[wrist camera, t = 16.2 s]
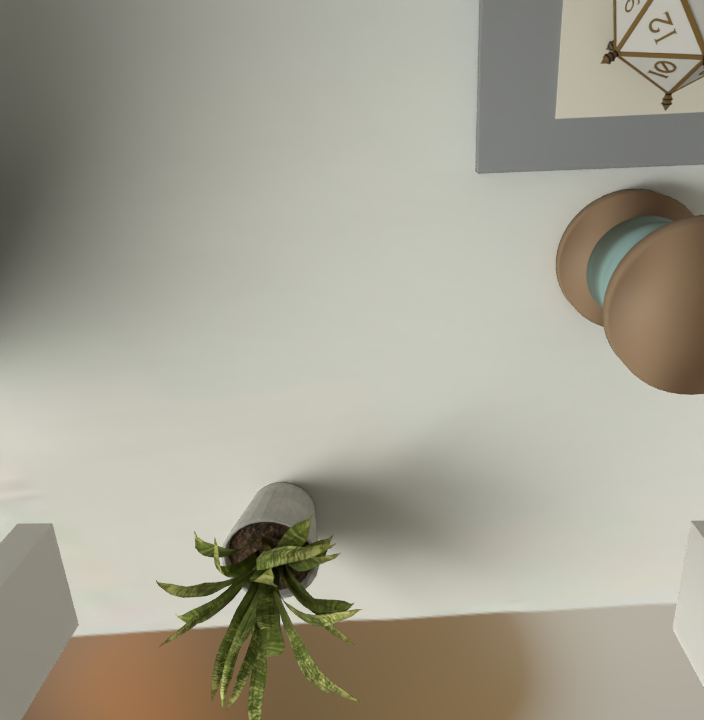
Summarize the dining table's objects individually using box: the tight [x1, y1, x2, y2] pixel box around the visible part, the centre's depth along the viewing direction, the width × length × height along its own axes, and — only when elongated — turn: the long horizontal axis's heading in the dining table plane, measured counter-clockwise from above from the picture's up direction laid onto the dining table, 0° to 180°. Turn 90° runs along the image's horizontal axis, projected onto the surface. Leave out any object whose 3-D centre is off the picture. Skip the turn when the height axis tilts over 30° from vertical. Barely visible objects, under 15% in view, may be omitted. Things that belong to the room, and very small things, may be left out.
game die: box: [600, 0, 704, 111], centre depth 33 cm, size 9×8×10 cm
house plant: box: [156, 483, 363, 720], centre depth 45 cm, size 14×14×16 cm
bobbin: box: [556, 189, 704, 395], centre depth 37 cm, size 9×9×12 cm
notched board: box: [476, 0, 704, 174], centre depth 37 cm, size 20×16×2 cm
